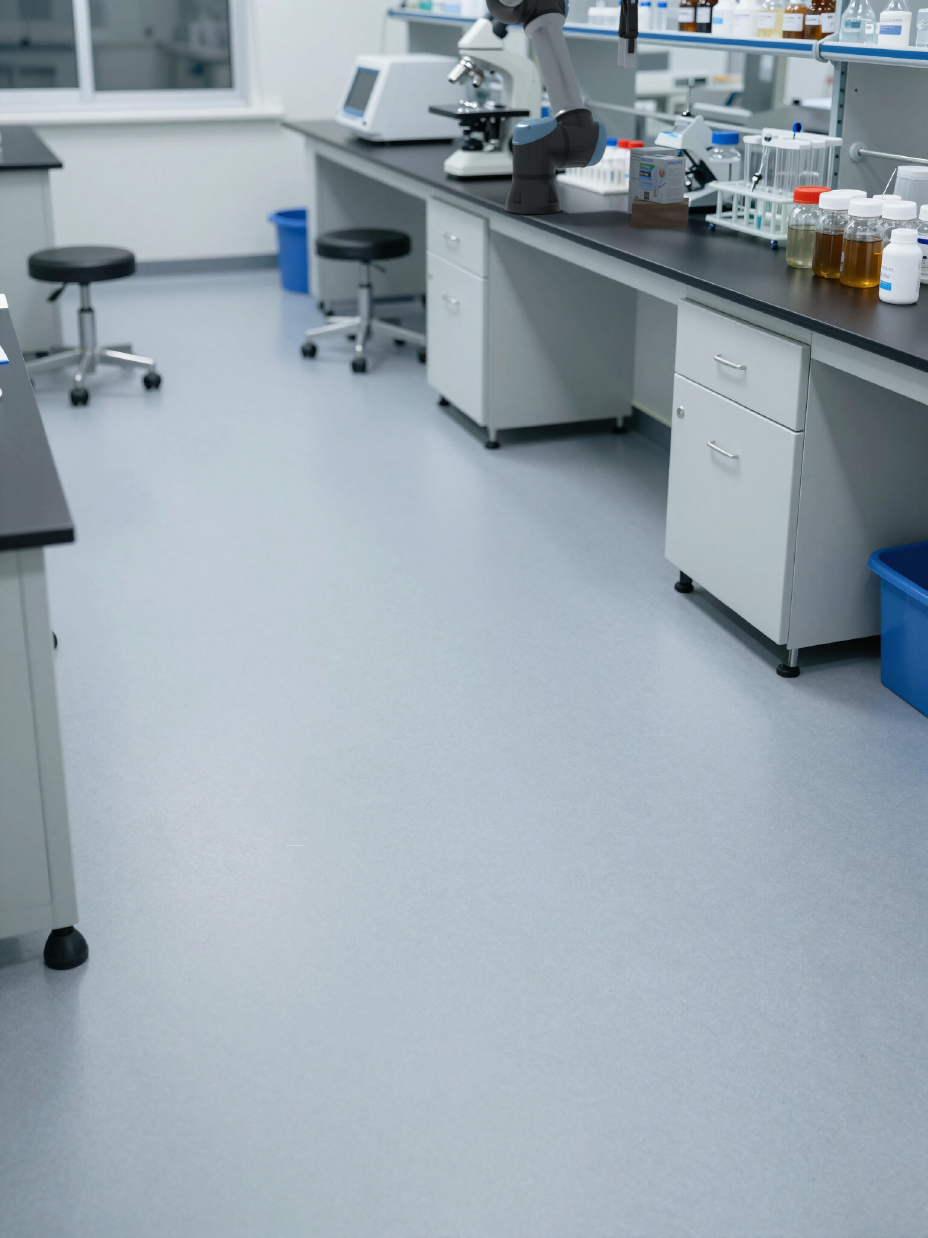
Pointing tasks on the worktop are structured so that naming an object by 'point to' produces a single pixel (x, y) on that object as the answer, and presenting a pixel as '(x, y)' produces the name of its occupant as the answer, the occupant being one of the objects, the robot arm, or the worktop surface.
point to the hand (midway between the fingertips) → (626, 66)
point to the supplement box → (635, 168)
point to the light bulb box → (662, 178)
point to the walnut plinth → (659, 214)
